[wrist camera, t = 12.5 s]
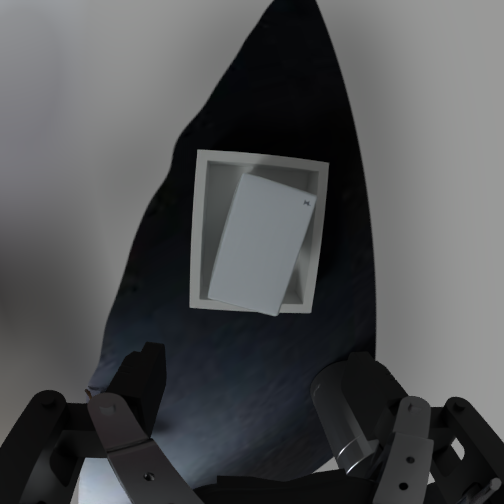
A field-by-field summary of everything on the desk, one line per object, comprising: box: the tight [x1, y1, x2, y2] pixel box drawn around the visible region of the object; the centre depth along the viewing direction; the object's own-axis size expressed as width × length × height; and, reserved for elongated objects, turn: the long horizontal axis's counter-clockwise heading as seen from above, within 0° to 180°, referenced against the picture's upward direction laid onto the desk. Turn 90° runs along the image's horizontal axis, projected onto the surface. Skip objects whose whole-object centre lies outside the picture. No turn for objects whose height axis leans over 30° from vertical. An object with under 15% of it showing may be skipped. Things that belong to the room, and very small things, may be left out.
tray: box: [190, 150, 329, 313], centre depth 30 cm, size 13×16×5 cm
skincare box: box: [208, 173, 317, 316], centre depth 27 cm, size 10×6×10 cm, turn 163°
